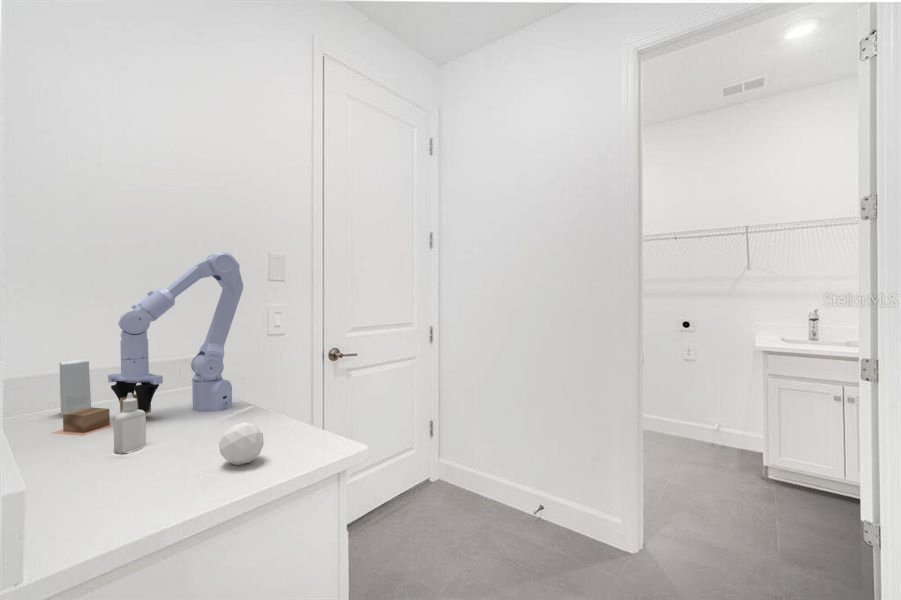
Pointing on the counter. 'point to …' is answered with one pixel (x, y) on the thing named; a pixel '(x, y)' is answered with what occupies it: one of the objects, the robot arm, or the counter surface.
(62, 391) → the skincare box
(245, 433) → the ball
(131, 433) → the eye dropper bottle
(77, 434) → the grey square plate
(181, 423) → the counter surface
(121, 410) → the oak block
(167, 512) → the counter surface
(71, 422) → the walnut base block
